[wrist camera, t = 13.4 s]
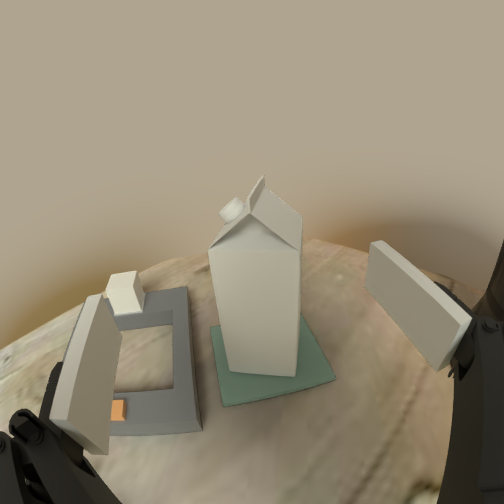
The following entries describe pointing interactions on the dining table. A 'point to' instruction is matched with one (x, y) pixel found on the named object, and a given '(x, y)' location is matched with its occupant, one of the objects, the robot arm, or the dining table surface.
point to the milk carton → (259, 283)
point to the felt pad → (266, 386)
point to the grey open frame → (184, 377)
